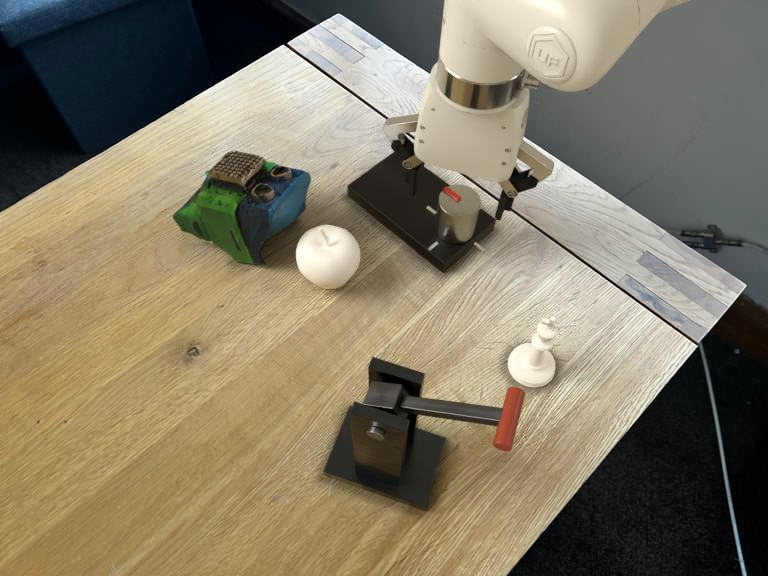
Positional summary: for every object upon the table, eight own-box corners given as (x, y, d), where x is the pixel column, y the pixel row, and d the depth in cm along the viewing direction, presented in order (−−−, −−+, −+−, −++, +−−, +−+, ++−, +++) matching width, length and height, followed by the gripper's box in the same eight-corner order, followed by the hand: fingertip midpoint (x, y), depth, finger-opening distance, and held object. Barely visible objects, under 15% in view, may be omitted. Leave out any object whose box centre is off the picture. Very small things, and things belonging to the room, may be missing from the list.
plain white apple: (327, 239, 78) (322, 194, 71) (373, 271, 75) (373, 228, 69) (285, 277, 75) (277, 234, 68) (332, 312, 72) (328, 271, 66)
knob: (483, 228, 76) (489, 198, 72) (456, 251, 75) (461, 222, 70) (453, 206, 78) (458, 176, 74) (426, 228, 76) (430, 198, 72)
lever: (529, 399, 49) (521, 383, 47) (515, 456, 46) (506, 441, 45) (387, 382, 55) (376, 367, 53) (369, 432, 52) (356, 417, 51)
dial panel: (506, 239, 78) (509, 227, 76) (455, 283, 75) (457, 273, 73) (398, 158, 85) (399, 146, 83) (347, 196, 81) (346, 184, 80)
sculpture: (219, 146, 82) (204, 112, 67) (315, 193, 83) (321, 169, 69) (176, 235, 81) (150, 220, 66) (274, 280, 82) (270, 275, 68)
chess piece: (549, 393, 68) (574, 349, 59) (502, 379, 68) (520, 333, 60) (558, 352, 70) (584, 304, 62) (513, 339, 71) (532, 289, 62)
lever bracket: (445, 441, 65) (463, 373, 51) (424, 511, 61) (437, 456, 48) (350, 409, 66) (343, 335, 53) (323, 475, 63) (310, 412, 50)
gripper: (586, 68, 58) (542, 194, 73) (399, 24, 61) (393, 154, 75) (570, 125, 54) (527, 247, 69) (372, 75, 57) (371, 202, 72)
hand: (457, 198), depth 72 cm, fingers open, 9 cm apart
